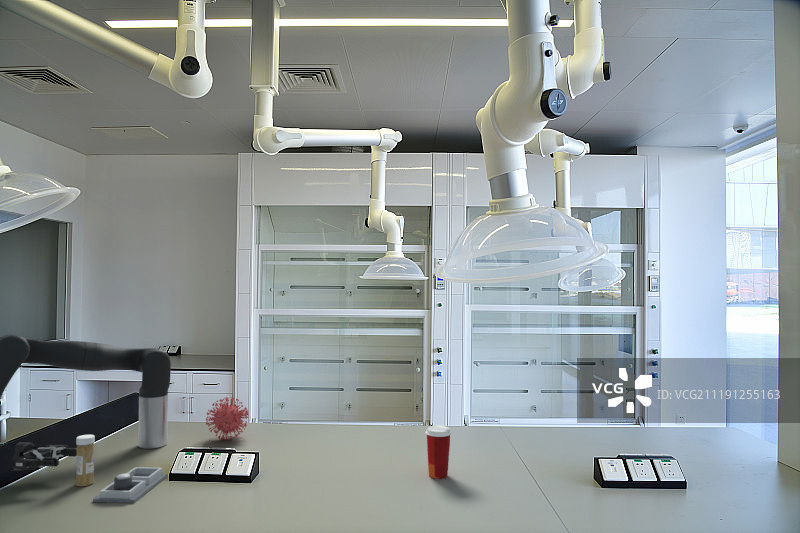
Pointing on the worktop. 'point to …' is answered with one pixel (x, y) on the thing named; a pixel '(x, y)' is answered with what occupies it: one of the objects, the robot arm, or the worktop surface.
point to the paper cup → (438, 451)
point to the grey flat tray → (131, 485)
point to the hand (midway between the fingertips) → (67, 457)
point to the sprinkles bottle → (85, 460)
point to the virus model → (227, 418)
